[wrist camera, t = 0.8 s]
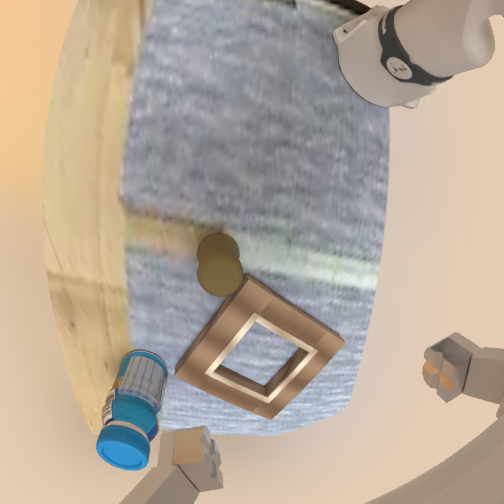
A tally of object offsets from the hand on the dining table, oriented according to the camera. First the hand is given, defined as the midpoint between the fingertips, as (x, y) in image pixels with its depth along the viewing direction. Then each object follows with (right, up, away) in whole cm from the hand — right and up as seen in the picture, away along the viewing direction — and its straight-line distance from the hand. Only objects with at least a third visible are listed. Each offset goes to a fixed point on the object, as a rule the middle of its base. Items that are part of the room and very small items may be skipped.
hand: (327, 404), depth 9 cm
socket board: (-1, -11, +38) cm, 40 cm away
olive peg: (-7, +5, +34) cm, 35 cm away
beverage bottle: (-21, -15, +37) cm, 45 cm away
